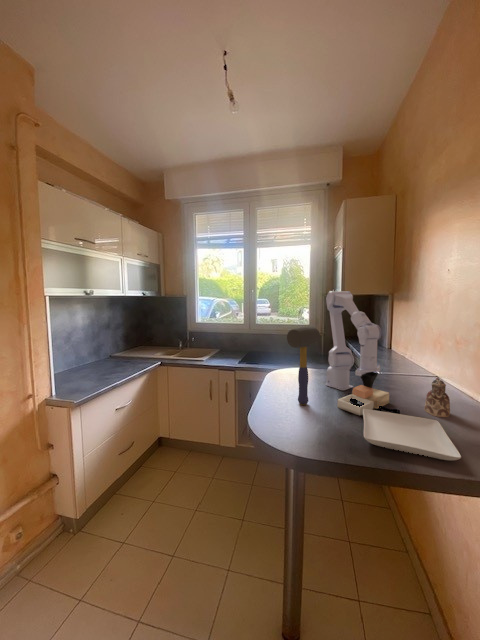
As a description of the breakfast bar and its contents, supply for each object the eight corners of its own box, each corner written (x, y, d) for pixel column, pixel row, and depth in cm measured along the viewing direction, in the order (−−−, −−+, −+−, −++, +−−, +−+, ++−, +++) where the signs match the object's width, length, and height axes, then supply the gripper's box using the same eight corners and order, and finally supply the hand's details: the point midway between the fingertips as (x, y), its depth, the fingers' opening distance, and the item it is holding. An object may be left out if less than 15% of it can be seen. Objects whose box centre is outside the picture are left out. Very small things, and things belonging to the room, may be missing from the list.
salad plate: (437, 429, 80) (437, 418, 79) (462, 471, 60) (463, 457, 60) (362, 417, 89) (362, 407, 88) (363, 449, 69) (363, 437, 69)
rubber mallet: (305, 397, 106) (305, 325, 103) (320, 403, 100) (322, 326, 98) (284, 405, 98) (285, 327, 96) (300, 411, 92) (301, 329, 90)
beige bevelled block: (351, 400, 102) (352, 390, 102) (363, 395, 107) (364, 385, 107) (377, 408, 94) (377, 398, 94) (389, 402, 99) (389, 392, 99)
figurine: (423, 413, 90) (425, 380, 89) (425, 406, 95) (426, 375, 95) (449, 419, 85) (451, 384, 85) (449, 412, 91) (451, 378, 90)
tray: (337, 407, 96) (337, 399, 96) (351, 401, 101) (351, 394, 101) (359, 415, 89) (360, 407, 88) (373, 409, 94) (373, 401, 94)
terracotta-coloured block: (353, 394, 99) (352, 388, 98) (361, 390, 101) (360, 384, 101) (365, 398, 94) (364, 392, 94) (373, 394, 97) (372, 388, 97)
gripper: (368, 360, 91) (368, 398, 92) (388, 355, 99) (387, 389, 100) (350, 357, 96) (349, 392, 97) (370, 352, 105) (369, 385, 106)
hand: (367, 390), depth 99 cm, fingers closed, pressing on terracotta-coloured block
